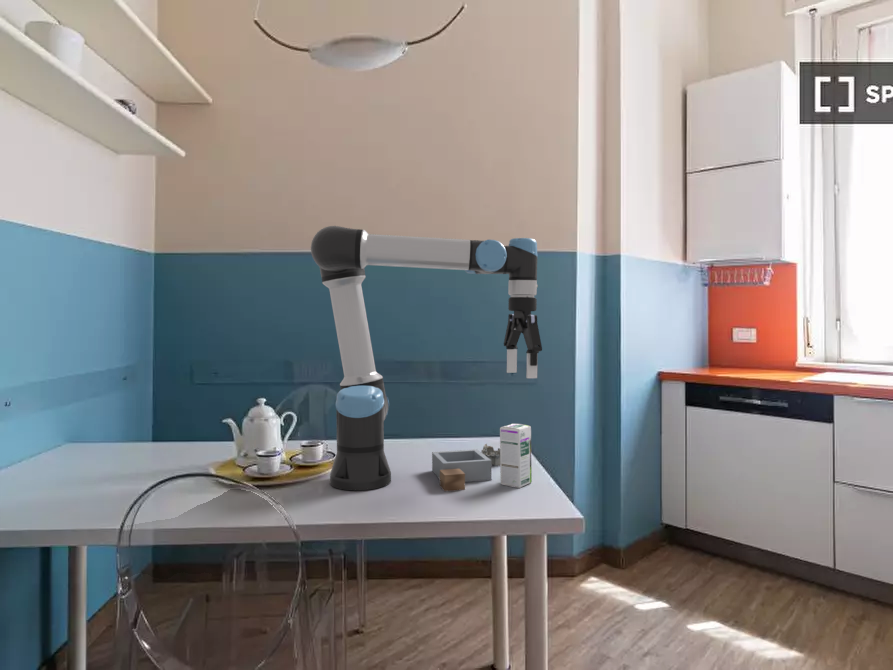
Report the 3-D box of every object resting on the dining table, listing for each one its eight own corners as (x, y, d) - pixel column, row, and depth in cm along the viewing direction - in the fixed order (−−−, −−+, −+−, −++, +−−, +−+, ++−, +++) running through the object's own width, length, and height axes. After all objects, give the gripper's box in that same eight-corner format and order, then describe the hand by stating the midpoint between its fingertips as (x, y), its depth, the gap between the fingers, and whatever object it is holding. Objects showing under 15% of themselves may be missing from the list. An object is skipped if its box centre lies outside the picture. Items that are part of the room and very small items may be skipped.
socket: (443, 483, 158) (443, 463, 157) (432, 470, 170) (432, 452, 169) (491, 479, 161) (491, 460, 160) (477, 467, 173) (477, 449, 173)
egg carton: (485, 456, 186) (485, 443, 186) (510, 458, 184) (510, 444, 184) (476, 465, 176) (476, 450, 176) (503, 467, 174) (503, 452, 174)
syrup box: (520, 488, 153) (520, 428, 152) (499, 484, 157) (499, 426, 156) (532, 483, 158) (532, 425, 157) (511, 479, 161) (511, 422, 161)
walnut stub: (444, 491, 151) (444, 475, 151) (439, 485, 156) (439, 469, 156) (464, 490, 152) (464, 473, 152) (459, 484, 157) (459, 468, 157)
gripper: (556, 296, 160) (554, 380, 161) (517, 297, 184) (516, 370, 185) (528, 296, 158) (527, 381, 159) (492, 296, 182) (492, 370, 183)
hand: (521, 375), depth 172 cm, fingers open, 13 cm apart
